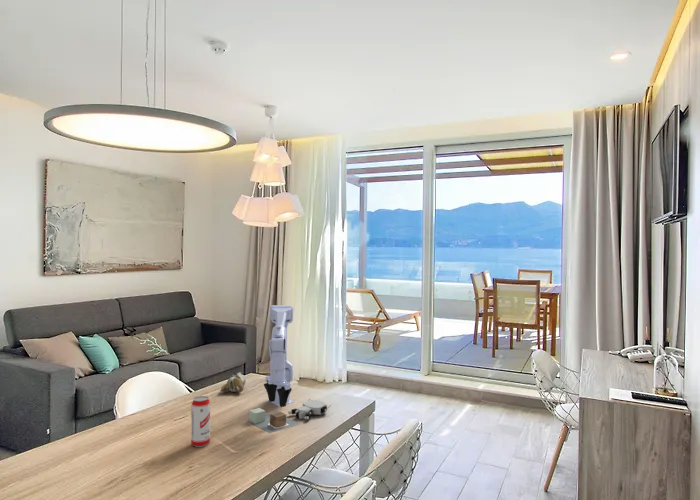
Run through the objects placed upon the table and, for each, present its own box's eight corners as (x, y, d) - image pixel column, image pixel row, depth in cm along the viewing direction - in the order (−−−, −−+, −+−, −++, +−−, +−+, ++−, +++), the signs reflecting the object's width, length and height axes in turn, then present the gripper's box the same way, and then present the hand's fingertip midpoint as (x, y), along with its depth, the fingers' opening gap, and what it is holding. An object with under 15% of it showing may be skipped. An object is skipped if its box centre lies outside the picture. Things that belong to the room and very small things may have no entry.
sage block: (249, 420, 185) (249, 410, 185) (259, 417, 188) (259, 407, 188) (255, 423, 182) (255, 413, 182) (265, 420, 185) (265, 410, 185)
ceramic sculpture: (250, 369, 232) (240, 379, 217) (250, 386, 232) (241, 397, 217) (229, 368, 233) (218, 378, 218) (229, 385, 233) (218, 396, 218)
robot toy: (307, 426, 183) (332, 413, 195) (307, 415, 183) (332, 402, 194) (285, 419, 191) (311, 406, 202) (285, 408, 190) (310, 396, 202)
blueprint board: (245, 420, 186) (245, 419, 186) (275, 412, 195) (275, 411, 195) (269, 434, 173) (269, 432, 173) (300, 425, 182) (300, 423, 182)
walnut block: (269, 424, 181) (270, 413, 181) (279, 421, 184) (279, 411, 184) (276, 427, 178) (276, 417, 178) (286, 424, 181) (286, 414, 181)
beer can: (213, 442, 165) (213, 396, 165) (202, 449, 159) (202, 402, 159) (198, 439, 167) (199, 394, 167) (187, 446, 161) (187, 400, 161)
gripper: (258, 366, 184) (258, 401, 184) (279, 374, 173) (279, 411, 173) (274, 364, 189) (273, 397, 189) (295, 371, 178) (294, 407, 178)
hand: (277, 403), depth 181 cm, fingers open, 7 cm apart
